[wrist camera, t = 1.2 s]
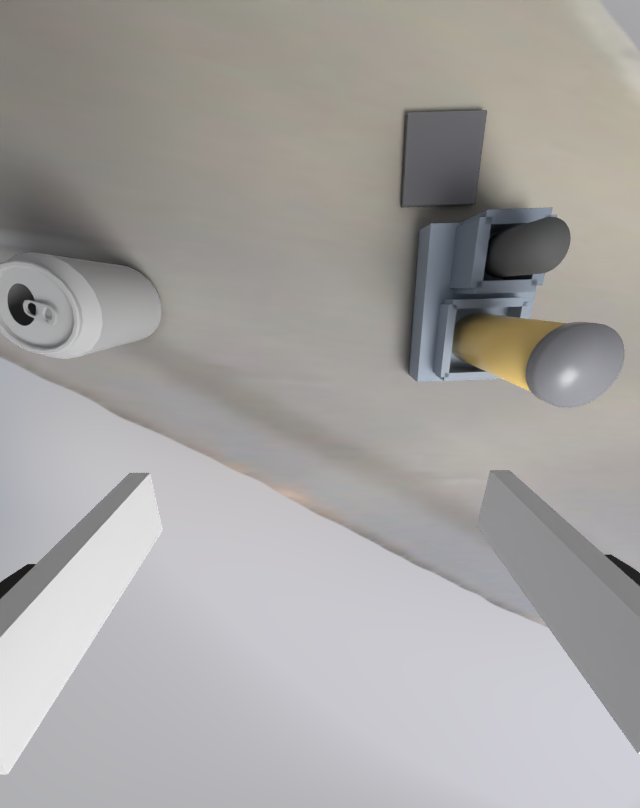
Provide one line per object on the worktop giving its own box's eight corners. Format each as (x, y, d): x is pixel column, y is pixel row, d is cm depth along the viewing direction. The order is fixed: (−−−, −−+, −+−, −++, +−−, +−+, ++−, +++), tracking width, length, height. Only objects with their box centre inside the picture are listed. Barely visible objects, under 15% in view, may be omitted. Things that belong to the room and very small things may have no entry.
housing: (419, 228, 30) (450, 210, 23) (528, 225, 30) (588, 206, 23) (408, 374, 35) (431, 393, 29) (501, 371, 35) (544, 389, 29)
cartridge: (451, 311, 30) (547, 325, 18) (504, 309, 30) (637, 321, 18) (444, 364, 32) (528, 409, 20) (494, 362, 32) (609, 406, 20)
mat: (406, 116, 27) (408, 112, 26) (483, 113, 27) (487, 110, 26) (401, 207, 29) (402, 205, 29) (471, 205, 29) (475, 203, 29)
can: (94, 254, 30) (-37, 231, 19) (170, 279, 31) (89, 271, 20) (90, 327, 32) (-28, 346, 21) (160, 348, 33) (84, 376, 22)
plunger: (484, 231, 25) (524, 217, 20) (526, 230, 25) (576, 215, 20) (478, 277, 26) (514, 274, 22) (518, 276, 26) (563, 272, 22)
